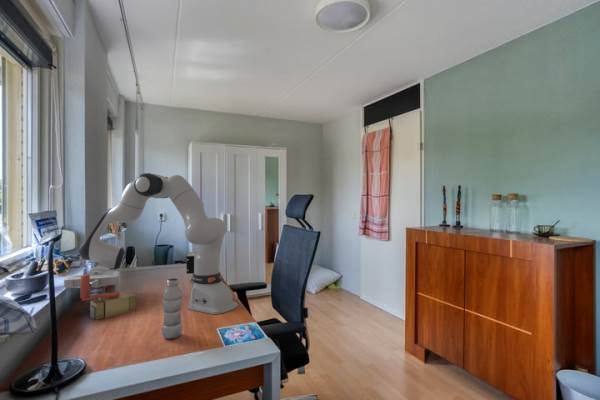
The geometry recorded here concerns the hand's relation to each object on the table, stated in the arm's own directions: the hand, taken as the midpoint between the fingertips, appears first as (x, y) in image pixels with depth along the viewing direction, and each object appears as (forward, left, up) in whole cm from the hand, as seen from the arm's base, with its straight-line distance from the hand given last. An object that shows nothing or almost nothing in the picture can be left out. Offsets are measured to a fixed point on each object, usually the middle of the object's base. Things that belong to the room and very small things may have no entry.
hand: (87, 285), depth 126 cm
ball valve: (+9, -58, -13) cm, 60 cm away
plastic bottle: (-44, -9, -13) cm, 47 cm away
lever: (-3, -4, -5) cm, 7 cm away
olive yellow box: (-4, -8, -12) cm, 16 cm away
